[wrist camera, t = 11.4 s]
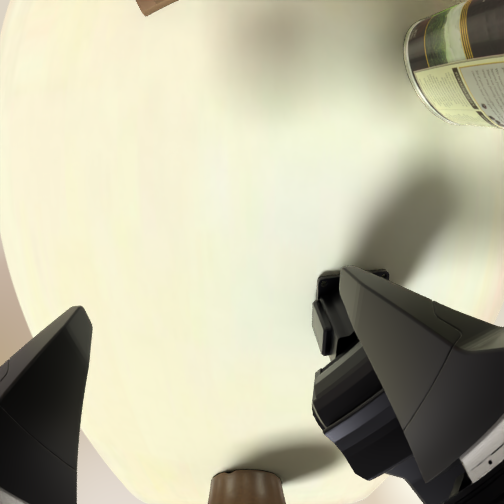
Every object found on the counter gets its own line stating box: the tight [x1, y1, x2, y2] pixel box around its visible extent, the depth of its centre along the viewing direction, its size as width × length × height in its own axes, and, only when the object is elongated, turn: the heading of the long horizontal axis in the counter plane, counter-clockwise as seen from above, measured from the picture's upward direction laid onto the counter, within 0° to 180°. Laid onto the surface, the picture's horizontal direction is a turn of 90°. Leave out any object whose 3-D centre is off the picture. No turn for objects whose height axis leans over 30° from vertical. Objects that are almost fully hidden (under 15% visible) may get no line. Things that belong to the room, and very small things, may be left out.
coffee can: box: [404, 0, 504, 129], centre depth 10 cm, size 10×10×14 cm
